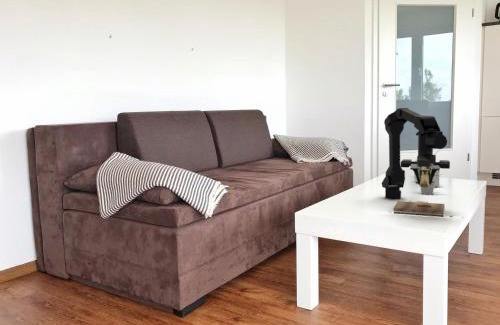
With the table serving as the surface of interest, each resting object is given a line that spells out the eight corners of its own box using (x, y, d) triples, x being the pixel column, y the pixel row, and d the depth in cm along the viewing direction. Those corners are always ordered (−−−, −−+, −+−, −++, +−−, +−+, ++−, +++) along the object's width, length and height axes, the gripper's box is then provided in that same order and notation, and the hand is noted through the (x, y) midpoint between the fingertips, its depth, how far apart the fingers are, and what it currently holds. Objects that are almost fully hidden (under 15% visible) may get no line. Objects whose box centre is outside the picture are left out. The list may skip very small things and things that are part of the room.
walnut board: (393, 213, 190) (393, 207, 190) (400, 202, 211) (400, 196, 211) (443, 217, 183) (443, 210, 182) (445, 205, 203) (445, 199, 203)
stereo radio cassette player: (413, 181, 266) (414, 147, 264) (427, 181, 266) (428, 147, 263) (425, 188, 245) (426, 151, 243) (441, 188, 245) (442, 150, 243)
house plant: (449, 196, 221) (450, 163, 219) (420, 197, 221) (421, 164, 219) (437, 191, 235) (437, 159, 233) (410, 192, 235) (410, 160, 233)
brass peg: (419, 187, 189) (419, 170, 188) (419, 185, 192) (420, 168, 192) (429, 187, 187) (429, 170, 186) (430, 185, 191) (430, 169, 190)
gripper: (399, 148, 184) (398, 186, 186) (449, 149, 177) (448, 189, 179) (402, 146, 194) (402, 182, 196) (450, 146, 187) (449, 184, 189)
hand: (424, 184), depth 190 cm, fingers closed on brass peg, 4 cm apart
